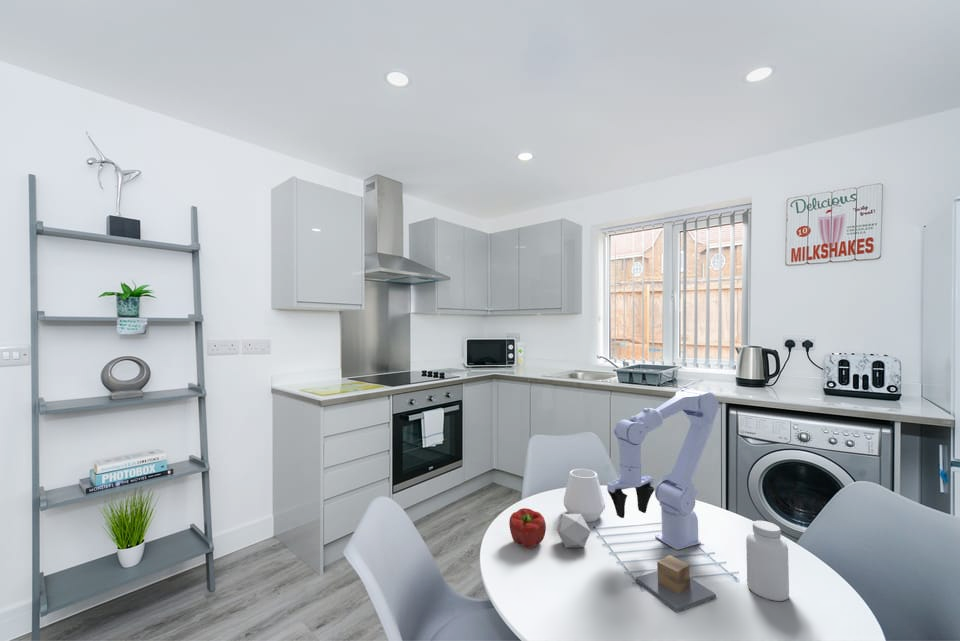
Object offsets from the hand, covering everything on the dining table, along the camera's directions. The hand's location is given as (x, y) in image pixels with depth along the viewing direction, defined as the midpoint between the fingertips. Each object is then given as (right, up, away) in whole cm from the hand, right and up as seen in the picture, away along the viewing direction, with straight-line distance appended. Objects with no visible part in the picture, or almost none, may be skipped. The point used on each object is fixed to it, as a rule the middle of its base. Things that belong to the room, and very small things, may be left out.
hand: (631, 514), depth 112 cm
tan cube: (+4, -9, -17) cm, 19 cm away
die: (-15, -10, +3) cm, 19 cm away
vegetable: (-28, -11, +3) cm, 30 cm away
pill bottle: (+25, -9, -18) cm, 32 cm away
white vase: (-8, -11, +21) cm, 25 cm away
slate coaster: (+4, -9, -17) cm, 20 cm away
